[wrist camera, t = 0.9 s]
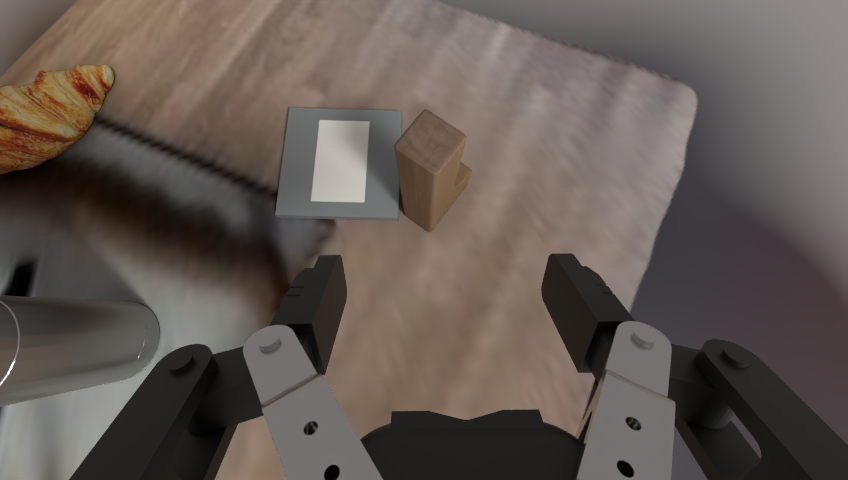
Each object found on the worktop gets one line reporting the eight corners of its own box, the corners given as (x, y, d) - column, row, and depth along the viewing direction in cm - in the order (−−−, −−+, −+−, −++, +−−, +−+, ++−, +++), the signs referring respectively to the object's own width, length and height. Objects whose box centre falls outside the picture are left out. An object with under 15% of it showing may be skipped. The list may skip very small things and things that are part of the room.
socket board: (278, 217, 43) (274, 214, 41) (292, 112, 46) (288, 106, 45) (398, 220, 43) (397, 217, 42) (402, 115, 47) (401, 109, 45)
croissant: (126, 83, 51) (63, 33, 45) (141, 90, 45) (72, 34, 39) (12, 182, 46) (-76, 142, 40) (14, 204, 41) (-88, 161, 34)
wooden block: (442, 166, 45) (456, 69, 27) (468, 183, 44) (499, 96, 27) (403, 214, 43) (391, 144, 26) (429, 234, 43) (436, 175, 25)
